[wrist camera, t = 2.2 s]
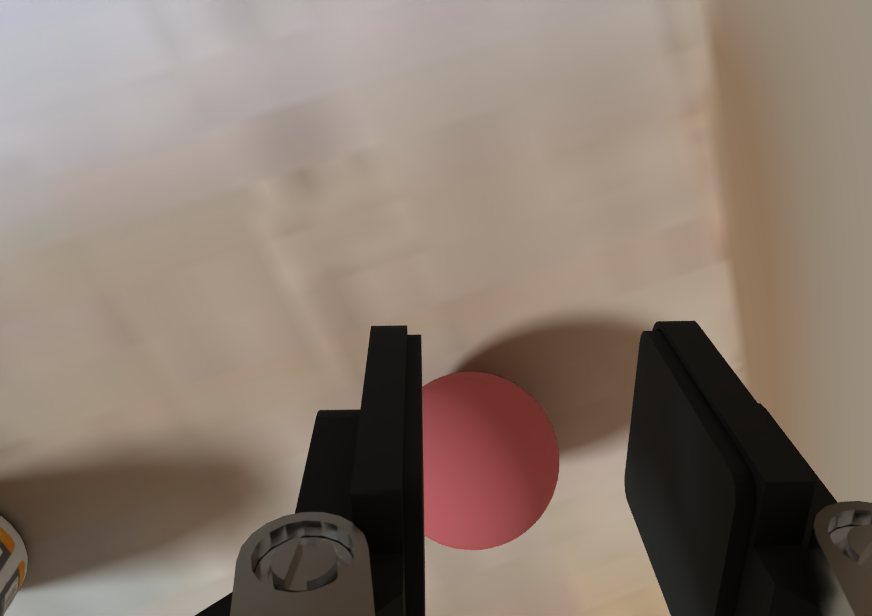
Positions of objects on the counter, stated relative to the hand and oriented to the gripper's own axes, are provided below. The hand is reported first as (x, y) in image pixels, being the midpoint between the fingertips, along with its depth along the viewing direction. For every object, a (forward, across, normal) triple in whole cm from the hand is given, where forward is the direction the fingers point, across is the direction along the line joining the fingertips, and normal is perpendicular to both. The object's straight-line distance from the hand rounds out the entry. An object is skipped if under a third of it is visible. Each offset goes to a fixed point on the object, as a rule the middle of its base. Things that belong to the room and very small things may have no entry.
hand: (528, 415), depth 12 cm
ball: (+12, 0, +10) cm, 15 cm away
